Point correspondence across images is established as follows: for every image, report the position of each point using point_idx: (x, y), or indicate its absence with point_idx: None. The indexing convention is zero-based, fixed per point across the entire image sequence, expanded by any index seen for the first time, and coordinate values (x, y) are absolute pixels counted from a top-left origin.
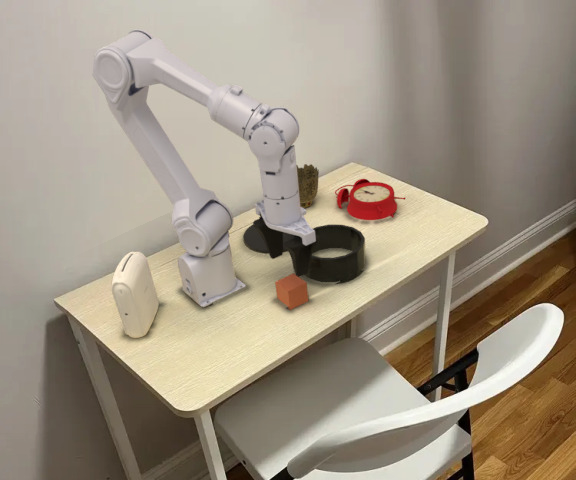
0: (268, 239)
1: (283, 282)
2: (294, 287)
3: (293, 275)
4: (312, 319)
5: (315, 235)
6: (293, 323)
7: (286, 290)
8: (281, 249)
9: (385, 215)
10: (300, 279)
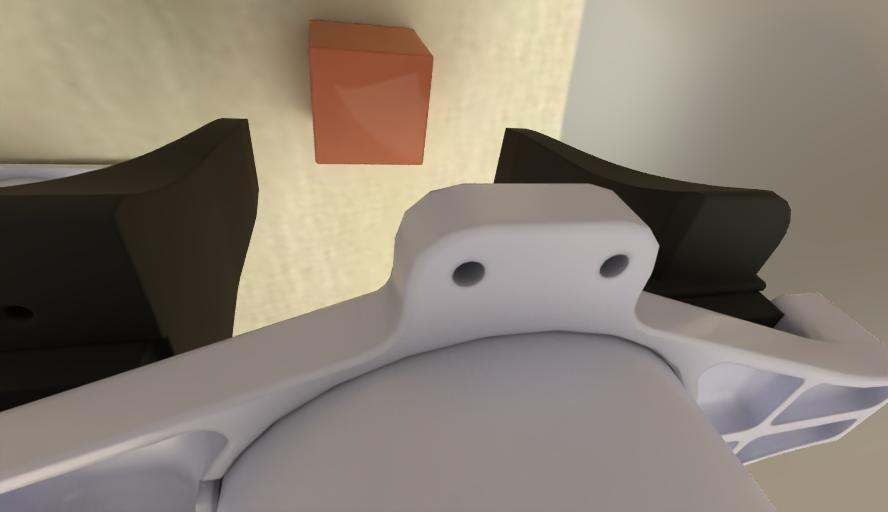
0: (232, 291)
1: (349, 139)
2: (421, 128)
3: (329, 63)
4: (509, 99)
5: (756, 217)
6: (472, 160)
7: (410, 164)
8: (241, 138)
9: None
10: (390, 63)
